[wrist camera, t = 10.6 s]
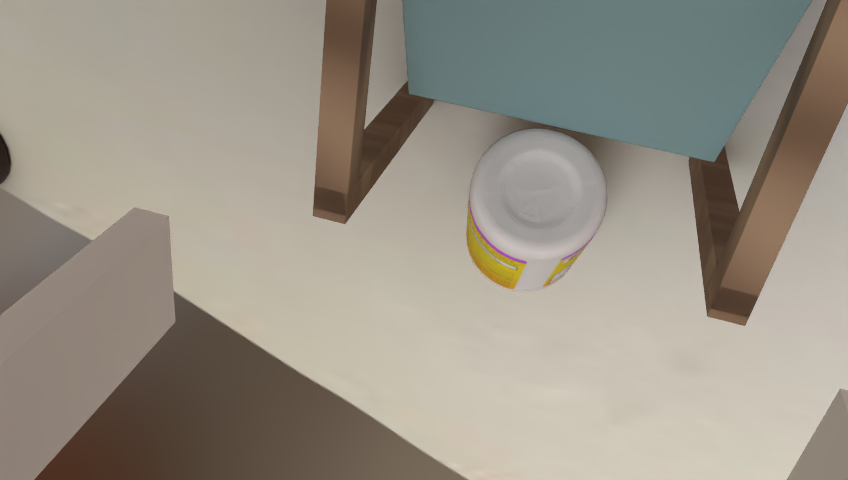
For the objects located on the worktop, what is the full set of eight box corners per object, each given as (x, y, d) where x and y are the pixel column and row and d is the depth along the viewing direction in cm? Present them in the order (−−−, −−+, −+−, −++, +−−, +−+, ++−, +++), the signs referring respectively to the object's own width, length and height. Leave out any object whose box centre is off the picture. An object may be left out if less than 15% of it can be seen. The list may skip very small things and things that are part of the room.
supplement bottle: (460, 133, 36) (456, 209, 48) (481, 265, 34) (472, 309, 47) (597, 114, 36) (558, 195, 48) (625, 245, 34) (577, 294, 47)
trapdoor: (399, -189, 25) (390, -170, 25) (866, -111, 23) (865, -89, 22) (414, 78, 38) (408, 93, 37) (716, 145, 35) (714, 162, 35)
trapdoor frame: (454, -244, 37) (343, -274, 23) (847, -183, 34) (977, -179, 21) (410, 97, 46) (312, 215, 33) (714, 166, 43) (744, 326, 30)
